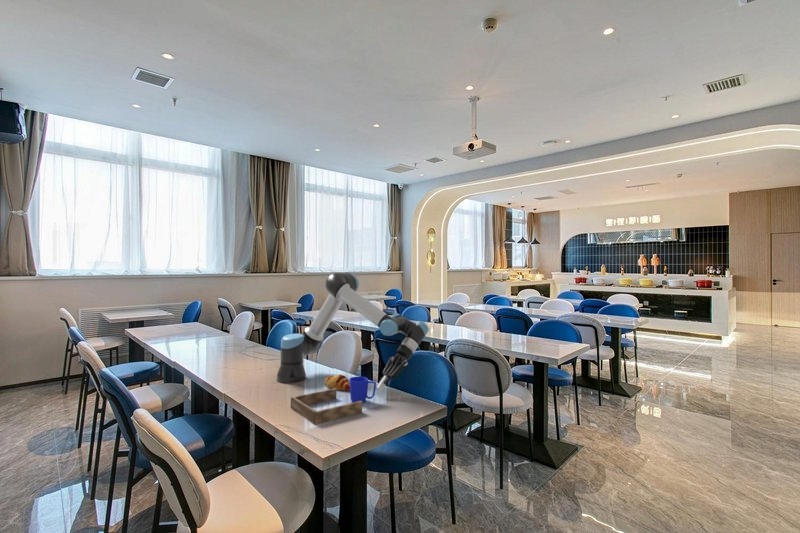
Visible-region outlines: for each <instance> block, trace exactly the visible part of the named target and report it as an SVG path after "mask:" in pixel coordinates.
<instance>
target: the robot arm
mask: <svg viewBox="0 0 800 533" xmlns="http://www.w3.org/2000/svg"><path fill="white" fill-rule="evenodd" d="M359 286H360V283H359V279H358V277H357V276H356V275H355V274H353V273H350V272H332V273H331V274H329V275H328V276H327V278H326V280H325V286H324V287H325V289H326V291H327V292H328V293H329V294H328V296H327V298H326V299H325V301H324V303H323V304H322V306H321V308H319V311H318V312H317V314H316V316H315V317H314V319H313V320H312V322H311V323H310V325H309V326H308V327H305V328H304V330H303V332H302V333H292V334H291V333H289V334H286V335H284V336H283V337H281V340H280V365H279V367H278V368H279V369H278V371H277V374H276V381H277V382H278V383H283V384H285V383H286V384H288V383H289V384H293V383H299V382H303V381H305V380H306V379H307V373H306V370H305V366H304V357H305V356H310V355H314V354H316V353H317V352H319V351H320V350H321V348H322V347H323V340H324V334H325V332H326V330H327V329H328V327H329V325H330V323H331V322H332V321H333V318H334V317H335V316H336V315H337V312H338V311H339V309H340V307H341V305H342V304H343V303H345V304H346V305H348V306H349V307H351V309H353V310H354V311H356V313H359V314H360V315H361V316H363V317H364V318H365V319H367V320H368V321H369V322H371V323H372V324H373V325H375V326H376V327H378V328H379V331H380V332H381V333H380V334H382V335H383V336H387V337H390V336H391V337H392V336H394V335H396V334H399V333H401V334H403V335H404V336H405V338H404V339H403V340H402V341H401V344H400V345H399V347H398V348H397V349H396V353H395V354H394V356H389V357H388V360H387V362H386V365H385V367H384V368H383V370H382V375H383V376H382V377H381V379H380V380H379V382H378V384H376V389H378V390H379V391H380V392H382V391H383V390H384V388H385V387H386V386H387V385H388V383H389V382H390V381H391V380H395V379H396V378H397V377H398V376H399V375H400V374H401V373H402V372H403V371H404V369H405V368H407V367H409V365H410V364H409V363H408V360H410V359H411V358H412V356H413V354H414V353H415V352H416V350H417V349H418V347H419V346H420V344H421V342H422V341H423V340H424V338H426V335H427V334H428V332H429V330H430V329H429V326H428V324H426V323H425V322H424V321H421V320H418V321H416V322H413V321H411V320H410V319H408V318H406V317H405V316H403V315H402V314H399V313H398V312H395V313H393V314H392V315H391V316H390V315H388V314H387V313H386V312H385V311H383V310H382V309H380V308H379V307H377V306H376V305H374V304H373V302H370V301H369V300H368V299H367V298H365V297H364V296H362V295H361V294H360V293H359V292H357V291H358V289H359Z"/></svg>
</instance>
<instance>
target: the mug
mask: <svg viewBox="0 0 800 533" xmlns="http://www.w3.org/2000/svg"><path fill="white" fill-rule="evenodd" d="M349 383H350V389H349V390H350V391H349V392H350V396H349V397H350V400H351V401H350V402H351V403H354V402H358V401H362V403H364V402H366V400H367V399H369V400H371V399H373V398H374V396H375V394H376V389H377V382H376V381H374V380H373V381H372V380H369V378H368V377H366V376H353V377H350V378H349ZM369 384H373V391H372V395H371V396H369V395H368V388H369Z"/></svg>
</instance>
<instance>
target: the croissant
mask: <svg viewBox="0 0 800 533" xmlns="http://www.w3.org/2000/svg"><path fill="white" fill-rule="evenodd" d="M324 385H325V386H326V387H327V388H328V389H334V388H336V389H337V390H339V391H349V390H350V380H349V379H348V378H347V377H346V375H344V374H335V375H330V376H326V378H324Z"/></svg>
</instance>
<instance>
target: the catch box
mask: <svg viewBox="0 0 800 533" xmlns="http://www.w3.org/2000/svg"><path fill="white" fill-rule="evenodd" d="M333 400H337V389H336V388H334V389H331V388H328V389H324V390H320V391H315V392H311V393H305V394H300V395H296V396H295V395H294V396H291V397H290V408H291V410H293V411H295V412H296V413H297V414H299V415H300V416H301V417H303V418H305V419H306V420H307V421H309V422H310V423H311V424H313V425H320V424H323V423H327V422H330V421H335V420H339V419H341V418H347V417H350V416H355V415H358V414H362V413H363V402H362V401H358V402H349V403H346V404H341V405H338V406H333V407H329V408H324V409H319V410H316V409H314V408H313V407H311V406H310V405H314V404H320V403H324V402H329V401H333Z"/></svg>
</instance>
